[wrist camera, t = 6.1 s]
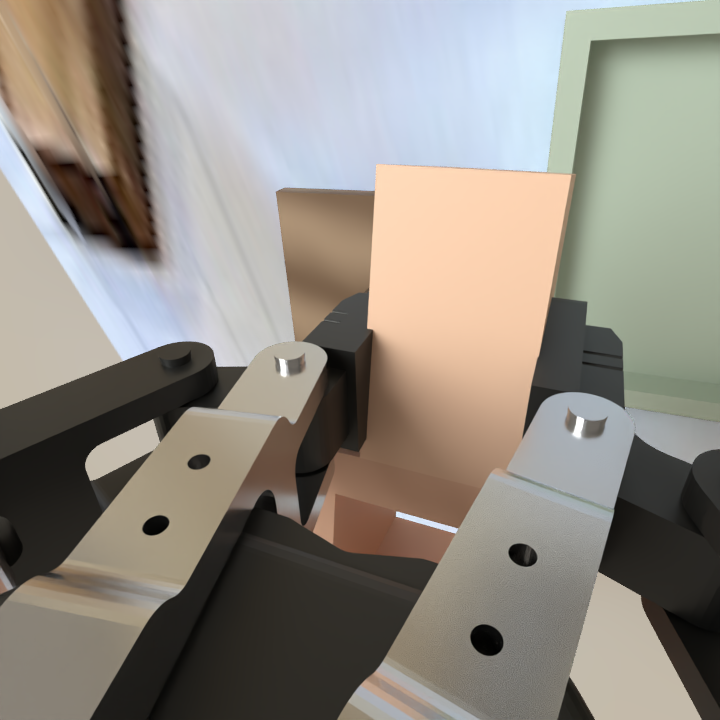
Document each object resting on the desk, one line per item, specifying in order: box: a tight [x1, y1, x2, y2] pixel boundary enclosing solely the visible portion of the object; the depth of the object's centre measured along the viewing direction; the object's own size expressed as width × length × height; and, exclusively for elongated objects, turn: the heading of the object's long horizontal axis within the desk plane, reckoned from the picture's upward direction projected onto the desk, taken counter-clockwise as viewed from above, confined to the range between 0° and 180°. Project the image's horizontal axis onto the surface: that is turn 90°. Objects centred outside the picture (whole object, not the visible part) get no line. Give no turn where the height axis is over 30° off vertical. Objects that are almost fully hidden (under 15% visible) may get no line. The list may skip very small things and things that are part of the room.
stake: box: [276, 188, 375, 342], centre depth 29 cm, size 12×12×8 cm
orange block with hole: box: [313, 164, 576, 563], centre depth 12 cm, size 12×6×5 cm, turn 1°
